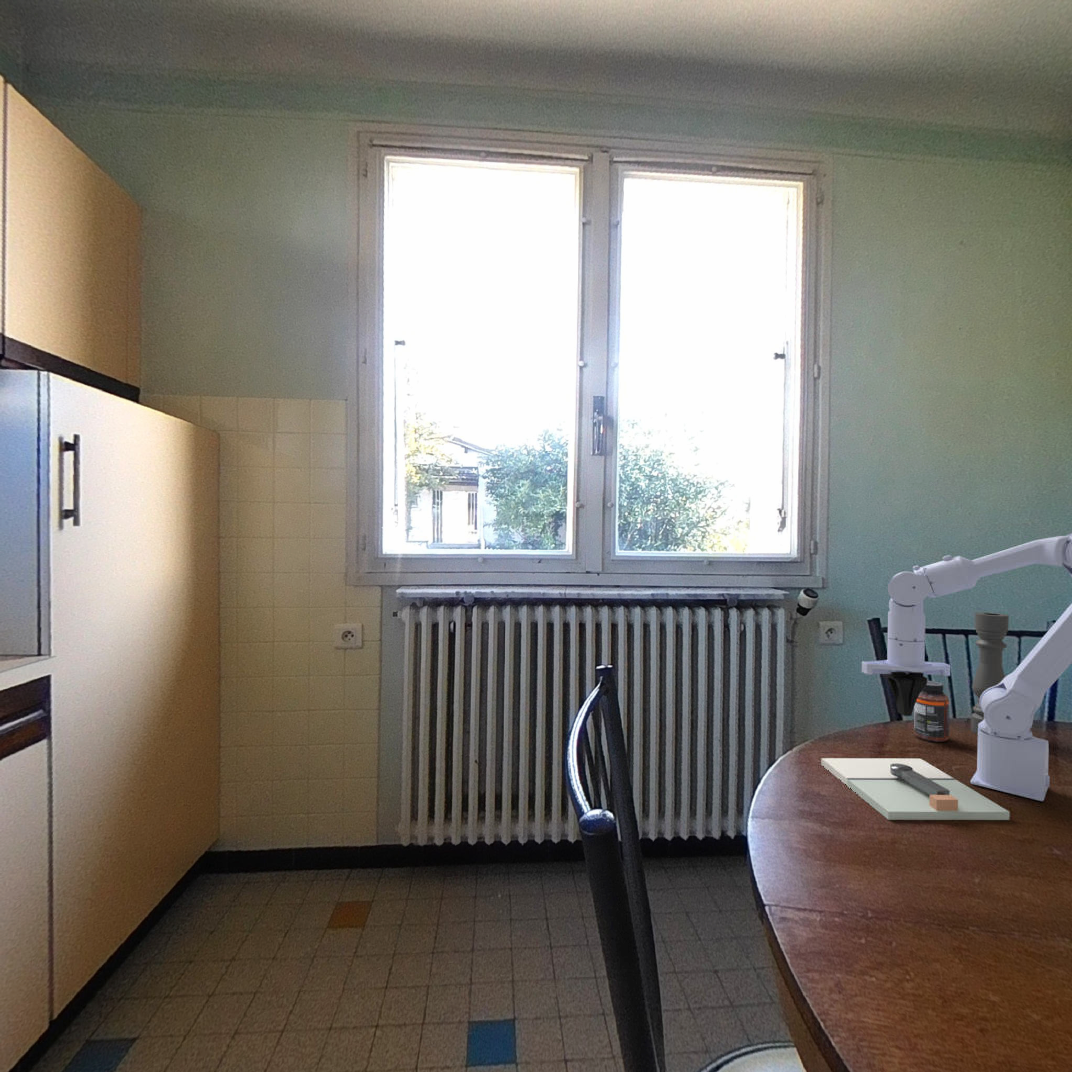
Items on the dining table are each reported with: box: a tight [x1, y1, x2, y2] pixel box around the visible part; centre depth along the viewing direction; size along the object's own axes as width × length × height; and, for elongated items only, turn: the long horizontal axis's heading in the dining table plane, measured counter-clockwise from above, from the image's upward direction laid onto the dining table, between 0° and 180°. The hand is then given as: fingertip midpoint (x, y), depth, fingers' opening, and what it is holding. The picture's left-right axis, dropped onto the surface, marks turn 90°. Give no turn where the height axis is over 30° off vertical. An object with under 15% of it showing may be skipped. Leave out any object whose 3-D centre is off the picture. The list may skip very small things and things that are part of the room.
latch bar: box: [890, 763, 950, 795], centre depth 98 cm, size 11×3×1 cm, turn 6°
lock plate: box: [820, 757, 1011, 821], centre depth 100 cm, size 18×20×3 cm
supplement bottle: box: [913, 680, 950, 743], centre depth 125 cm, size 6×6×11 cm
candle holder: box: [970, 611, 1010, 735], centre depth 128 cm, size 6×6×25 cm
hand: (904, 714), depth 110 cm, fingers closed
